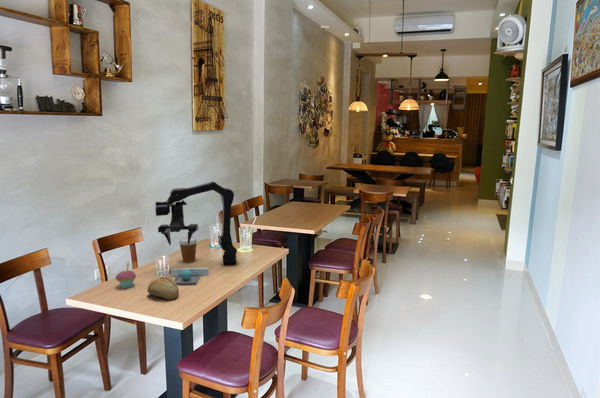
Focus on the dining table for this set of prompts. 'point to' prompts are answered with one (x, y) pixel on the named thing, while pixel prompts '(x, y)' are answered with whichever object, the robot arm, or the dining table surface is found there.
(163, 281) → the bread roll
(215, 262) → the dining table surface
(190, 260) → the disposable coffee cup
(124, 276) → the cupcake
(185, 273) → the ball
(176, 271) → the wall
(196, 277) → the dish
